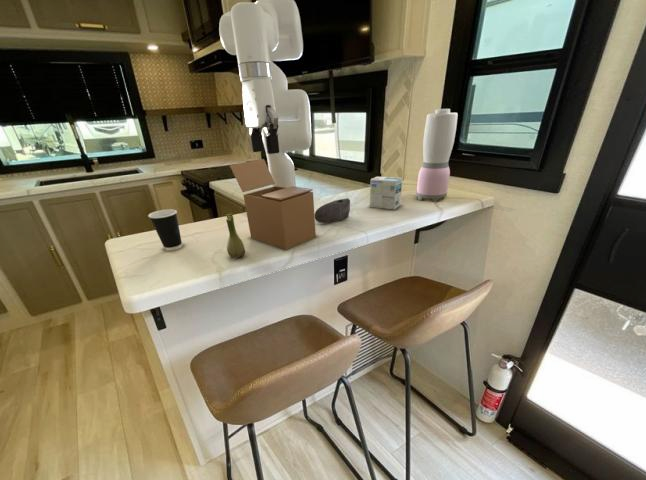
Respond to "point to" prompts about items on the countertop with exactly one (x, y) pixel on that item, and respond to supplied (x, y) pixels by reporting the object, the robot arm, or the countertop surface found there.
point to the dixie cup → (167, 228)
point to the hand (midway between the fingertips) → (265, 152)
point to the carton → (281, 215)
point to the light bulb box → (385, 192)
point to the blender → (436, 154)
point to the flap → (252, 175)
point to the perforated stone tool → (333, 211)
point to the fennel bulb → (234, 240)
